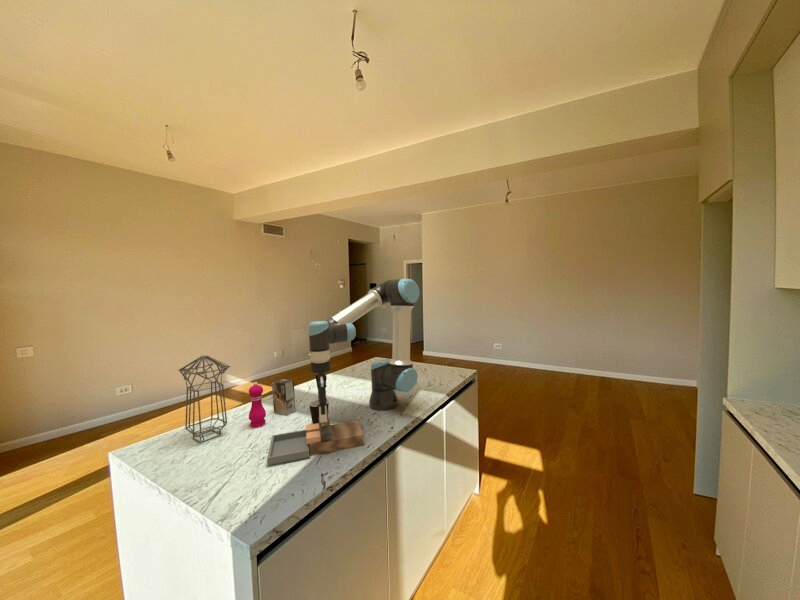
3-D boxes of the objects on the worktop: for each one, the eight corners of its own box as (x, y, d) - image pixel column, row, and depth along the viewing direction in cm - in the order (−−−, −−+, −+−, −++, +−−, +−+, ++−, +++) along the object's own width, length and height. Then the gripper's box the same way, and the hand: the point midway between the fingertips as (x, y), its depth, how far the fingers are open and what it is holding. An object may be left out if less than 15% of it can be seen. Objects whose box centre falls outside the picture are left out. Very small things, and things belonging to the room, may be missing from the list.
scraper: (328, 421, 129) (325, 387, 128) (332, 438, 113) (329, 400, 113) (318, 423, 127) (315, 389, 127) (321, 441, 112) (317, 402, 111)
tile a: (319, 427, 126) (318, 423, 126) (319, 433, 121) (319, 428, 121) (306, 430, 124) (306, 425, 124) (306, 435, 119) (306, 430, 119)
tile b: (319, 435, 119) (319, 430, 119) (320, 441, 114) (320, 436, 114) (306, 437, 117) (306, 432, 117) (306, 444, 112) (306, 438, 112)
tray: (308, 436, 127) (308, 429, 127) (309, 458, 110) (309, 450, 110) (272, 442, 123) (272, 435, 123) (267, 466, 106) (267, 458, 106)
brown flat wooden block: (357, 429, 131) (357, 420, 131) (364, 444, 118) (363, 434, 118) (309, 438, 125) (309, 428, 125) (310, 455, 112) (309, 444, 112)
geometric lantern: (179, 439, 130) (175, 357, 130) (219, 426, 142) (216, 351, 142) (193, 449, 120) (189, 360, 120) (235, 434, 133) (231, 353, 133)
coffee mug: (324, 429, 133) (323, 406, 133) (306, 428, 135) (305, 406, 134) (335, 418, 144) (334, 397, 144) (318, 417, 146) (317, 396, 146)
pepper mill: (269, 422, 143) (267, 380, 142) (258, 429, 136) (255, 384, 135) (257, 420, 145) (255, 379, 145) (245, 427, 138) (242, 383, 138)
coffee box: (296, 410, 156) (294, 379, 155) (287, 415, 150) (285, 383, 149) (282, 408, 159) (280, 378, 159) (273, 413, 153) (271, 382, 153)
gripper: (309, 358, 126) (312, 414, 126) (310, 366, 111) (314, 430, 111) (328, 356, 128) (331, 411, 129) (331, 364, 113) (334, 426, 114)
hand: (323, 420), depth 120 cm, fingers closed on scraper, 2 cm apart
